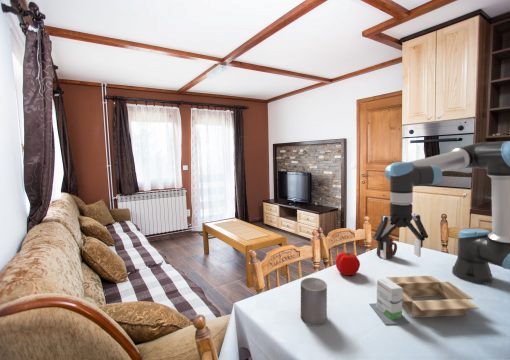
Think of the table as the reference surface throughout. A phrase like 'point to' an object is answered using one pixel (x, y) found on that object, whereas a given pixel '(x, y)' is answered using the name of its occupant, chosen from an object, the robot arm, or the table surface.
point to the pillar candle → (313, 301)
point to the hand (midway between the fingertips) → (400, 256)
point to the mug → (388, 248)
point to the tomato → (347, 263)
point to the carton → (430, 286)
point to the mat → (386, 319)
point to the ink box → (389, 298)
